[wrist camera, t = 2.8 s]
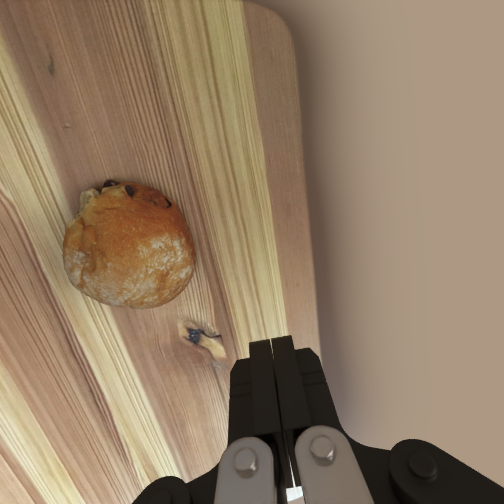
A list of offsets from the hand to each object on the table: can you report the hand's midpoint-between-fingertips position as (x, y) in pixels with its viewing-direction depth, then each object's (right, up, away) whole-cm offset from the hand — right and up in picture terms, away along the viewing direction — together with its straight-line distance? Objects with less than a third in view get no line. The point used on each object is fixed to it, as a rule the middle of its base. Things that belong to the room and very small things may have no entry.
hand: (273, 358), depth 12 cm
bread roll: (-10, +5, +16) cm, 20 cm away
